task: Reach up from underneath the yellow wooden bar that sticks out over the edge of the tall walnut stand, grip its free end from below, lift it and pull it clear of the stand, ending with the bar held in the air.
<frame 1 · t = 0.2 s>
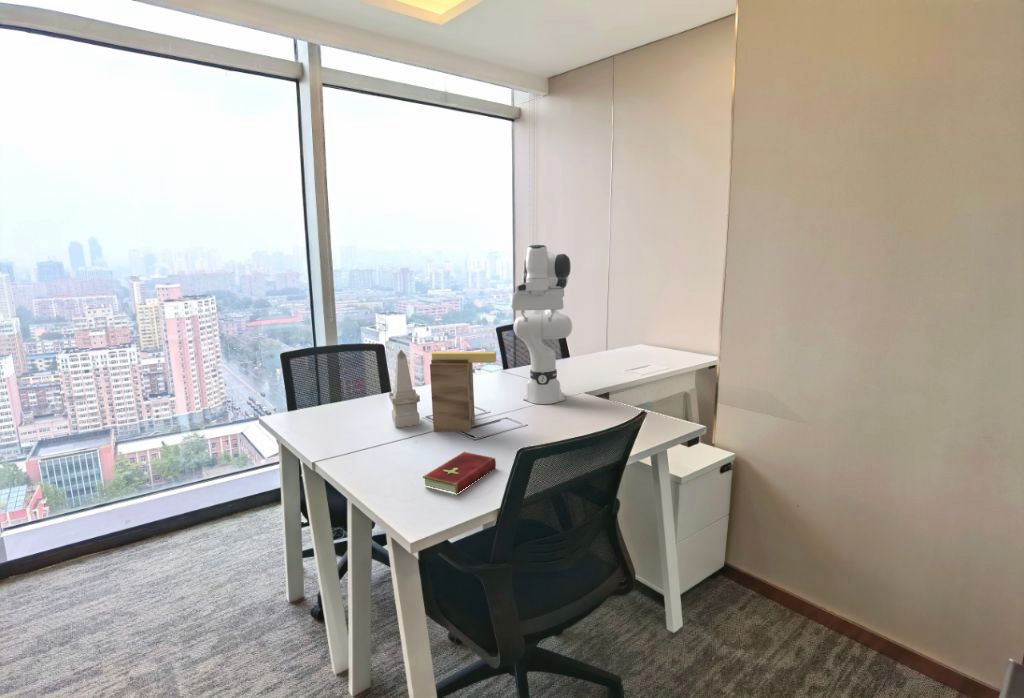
hand: (537, 321, 206), 39 cm above the table, tool pointing down, fingers open, 8 cm apart
stand: (454, 426, 203), on the table
yellow wooden bar: (464, 361, 198), point 26 cm above the table, touching stand
miniature monument: (406, 423, 210), on the table
hardcover book: (461, 479, 158), on the table
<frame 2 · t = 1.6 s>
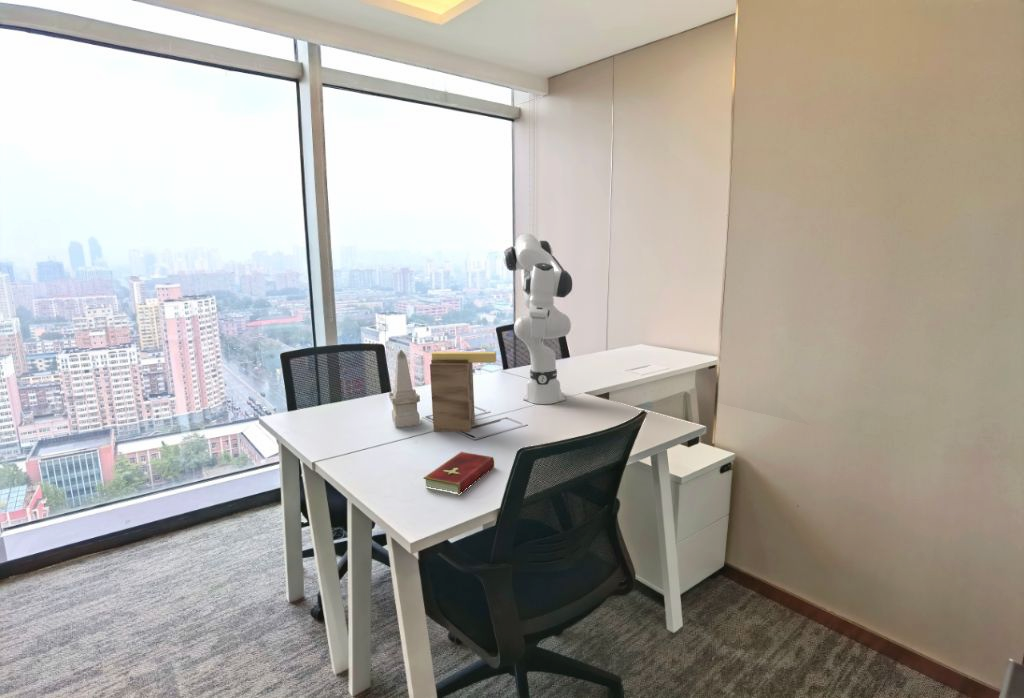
hand: (538, 345, 195), 32 cm above the table, tool pointing down, fingers open, 8 cm apart
nothing on the table moved.
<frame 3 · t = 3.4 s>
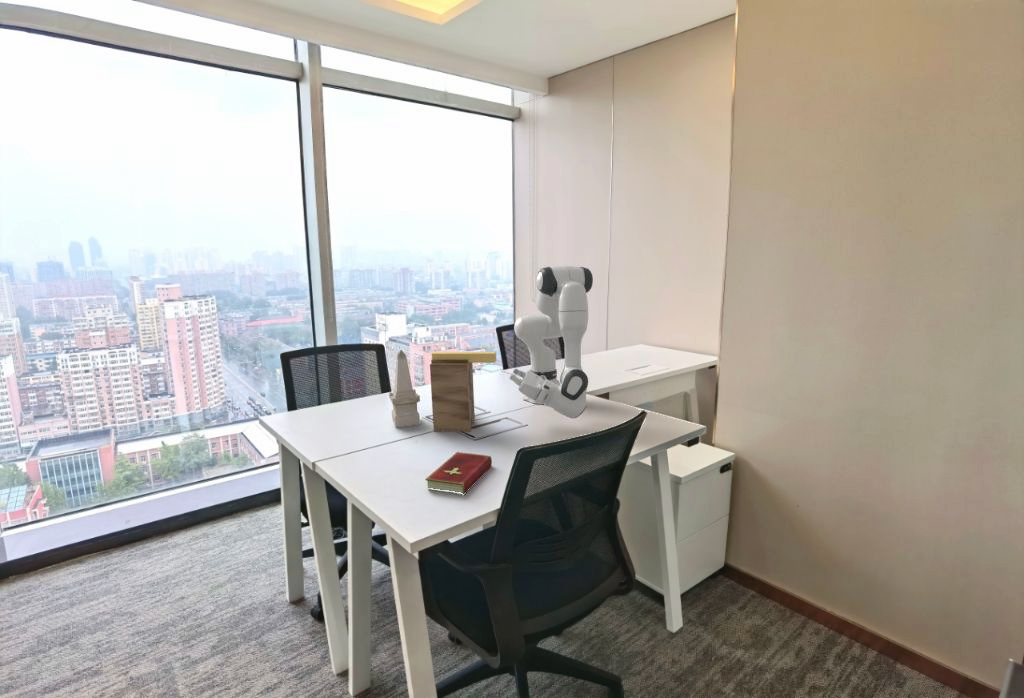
hand: (512, 373, 196), 22 cm above the table, tool pointing upward, fingers open, 8 cm apart
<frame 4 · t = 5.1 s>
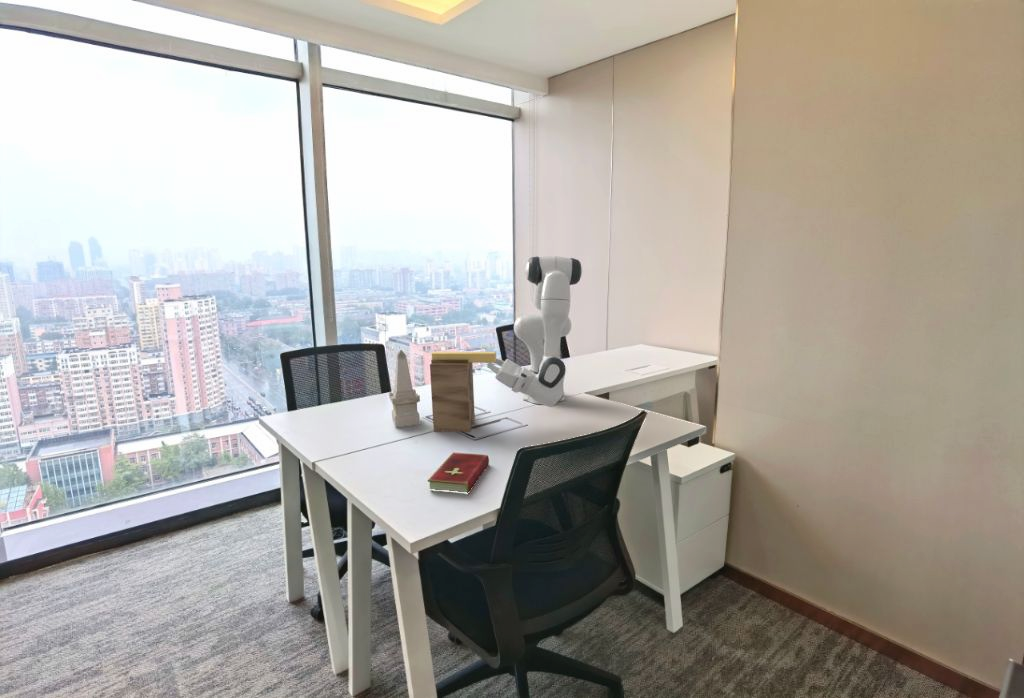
hand: (490, 361, 196), 26 cm above the table, tool pointing upward, fingers open, 8 cm apart
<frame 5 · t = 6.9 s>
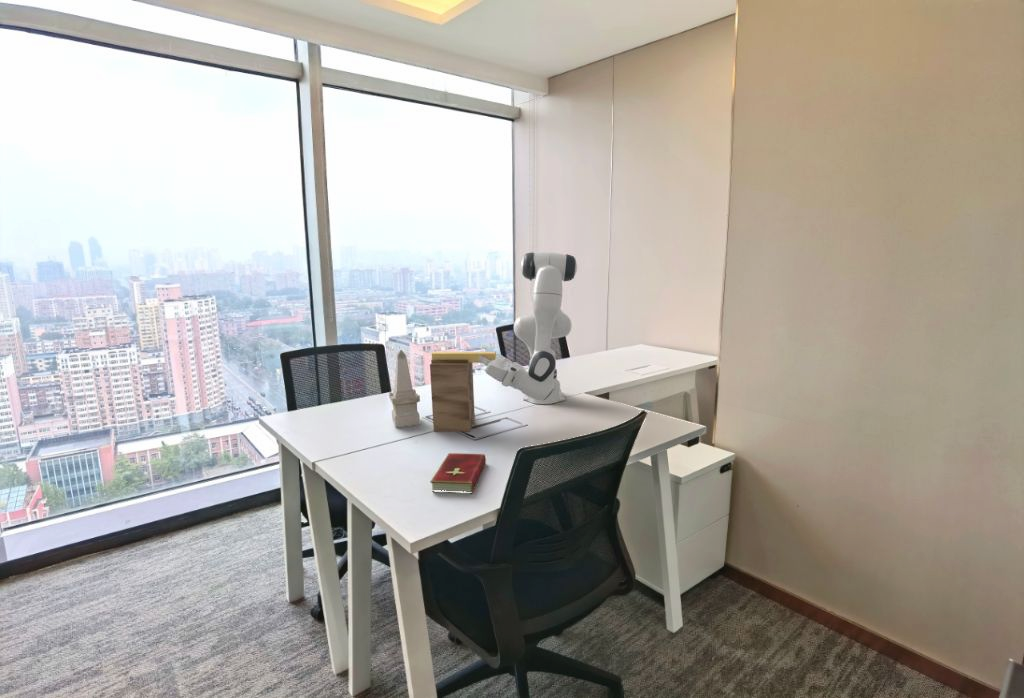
hand: (480, 355, 196), 28 cm above the table, tool pointing upward, fingers closed on yellow wooden bar, 3 cm apart
yellow wooden bar: (464, 361, 198), point 26 cm above the table, touching gripper, stand
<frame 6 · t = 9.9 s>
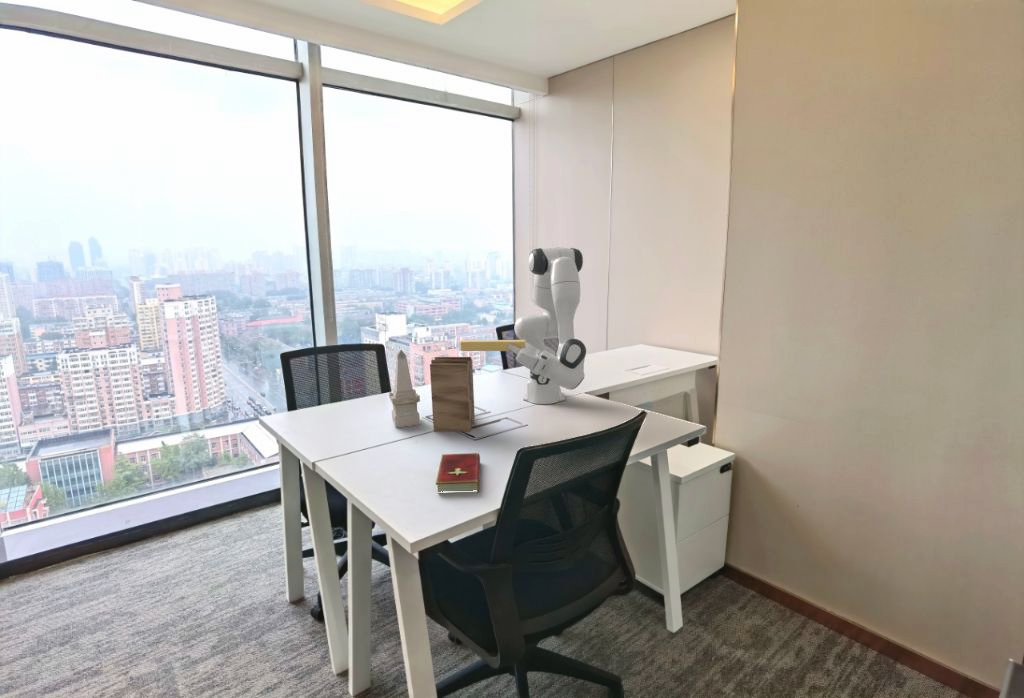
hand: (509, 344, 194), 33 cm above the table, tool pointing upward, fingers closed on yellow wooden bar, 3 cm apart
yellow wooden bar: (493, 350, 195), point 30 cm above the table, touching gripper
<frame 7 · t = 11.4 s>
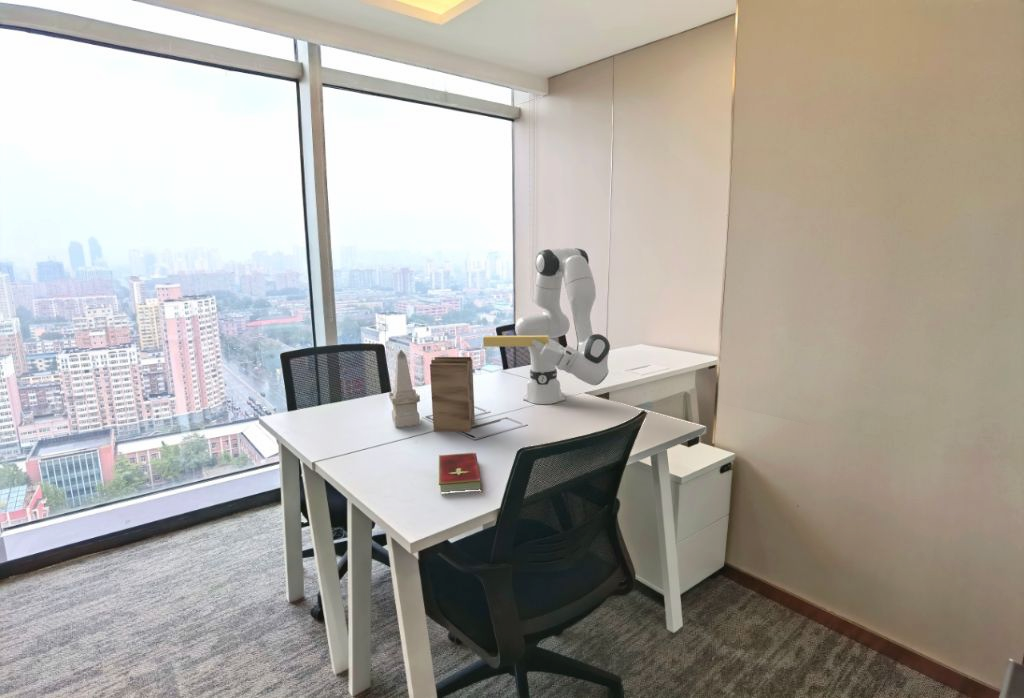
hand: (532, 339, 192), 34 cm above the table, tool pointing upward, fingers closed on yellow wooden bar, 3 cm apart
yellow wooden bar: (516, 345, 194), point 32 cm above the table, touching gripper
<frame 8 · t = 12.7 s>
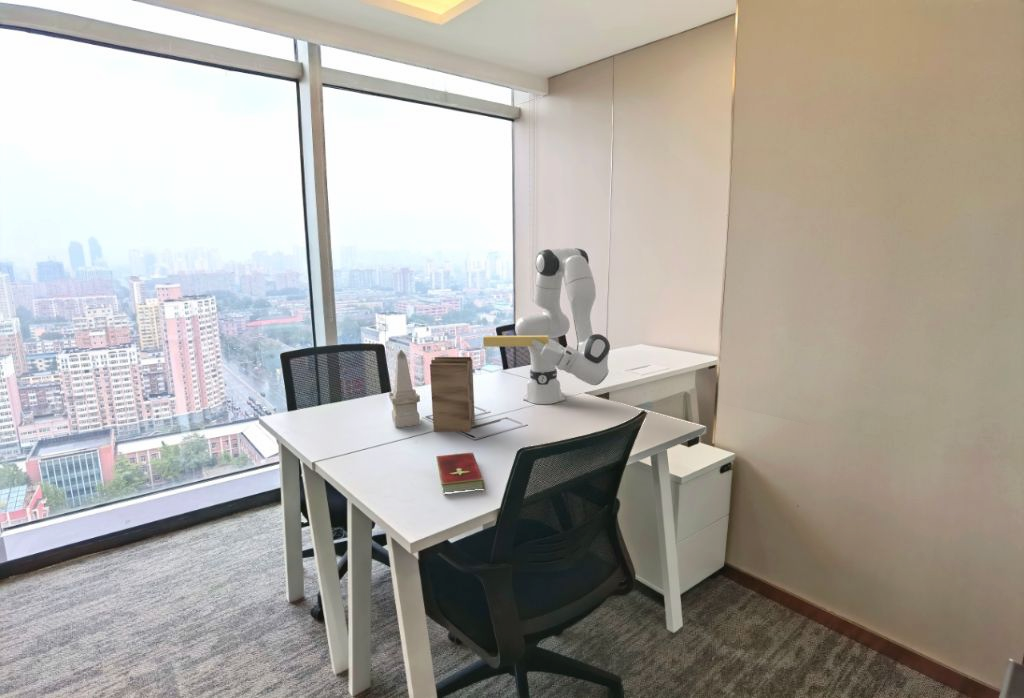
hand: (532, 339, 192), 34 cm above the table, tool pointing upward, fingers closed on yellow wooden bar, 3 cm apart
yellow wooden bar: (516, 345, 194), point 32 cm above the table, touching gripper
at the end: the gripper is holding yellow wooden bar; yellow wooden bar inside the target area (2.0 cm from its centre), point 32.1 cm above the table; yellow wooden bar touching gripper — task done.
